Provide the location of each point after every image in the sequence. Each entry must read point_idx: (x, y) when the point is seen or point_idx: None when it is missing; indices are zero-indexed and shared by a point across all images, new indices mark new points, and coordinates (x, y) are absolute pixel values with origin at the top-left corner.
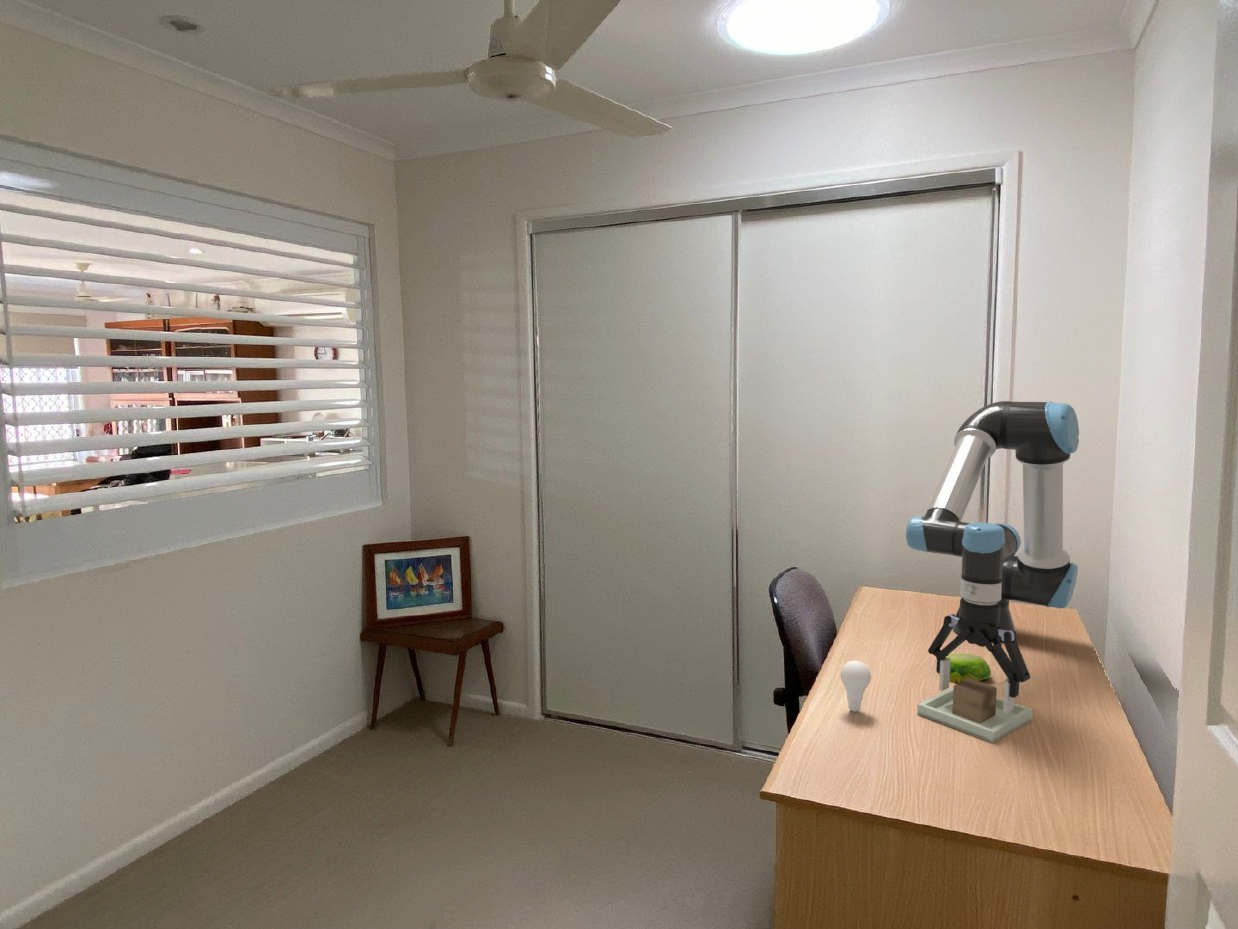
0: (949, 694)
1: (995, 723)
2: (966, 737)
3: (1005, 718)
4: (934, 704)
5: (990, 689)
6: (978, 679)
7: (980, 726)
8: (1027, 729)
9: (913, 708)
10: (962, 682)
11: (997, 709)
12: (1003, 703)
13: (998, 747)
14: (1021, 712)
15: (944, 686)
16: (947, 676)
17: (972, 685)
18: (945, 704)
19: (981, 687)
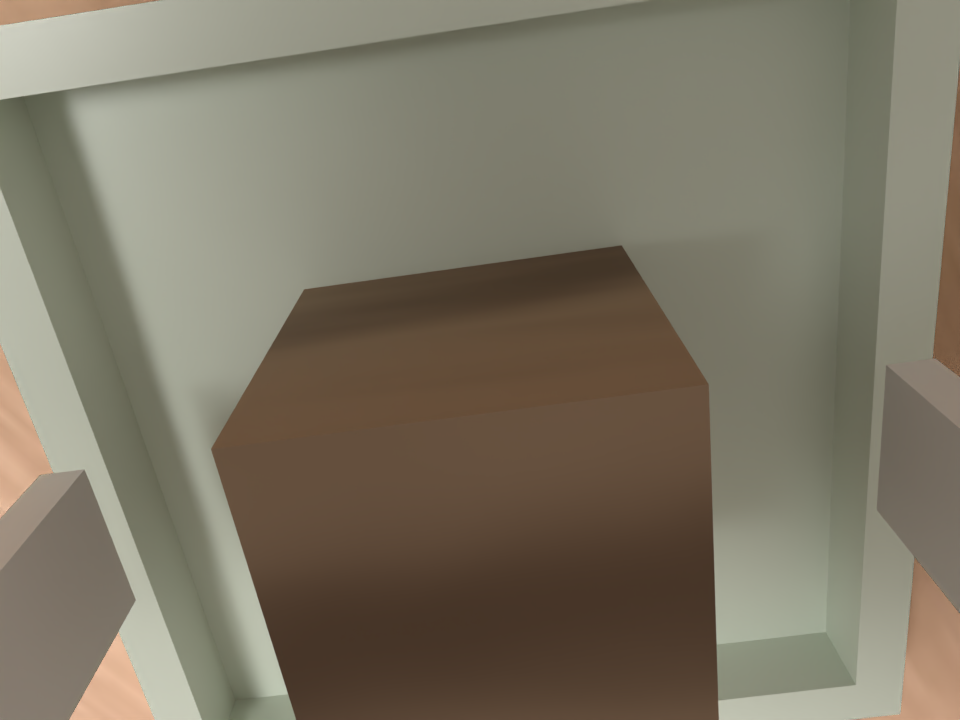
0: (77, 347)
1: (724, 404)
2: None
3: (731, 224)
4: (181, 587)
5: (686, 526)
6: None
7: (771, 716)
8: (956, 181)
9: (107, 663)
10: (295, 644)
11: (549, 88)
12: (933, 579)
13: (911, 654)
14: (906, 115)
15: (100, 594)
16: (18, 635)
17: (442, 615)
18: (191, 457)
19: (561, 571)
